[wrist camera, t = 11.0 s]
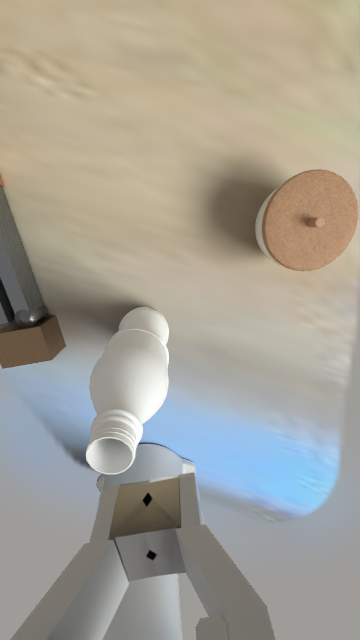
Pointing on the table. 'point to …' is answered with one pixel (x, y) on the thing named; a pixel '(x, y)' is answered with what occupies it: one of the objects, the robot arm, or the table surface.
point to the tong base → (26, 338)
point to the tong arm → (18, 271)
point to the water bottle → (127, 389)
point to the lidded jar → (307, 220)
